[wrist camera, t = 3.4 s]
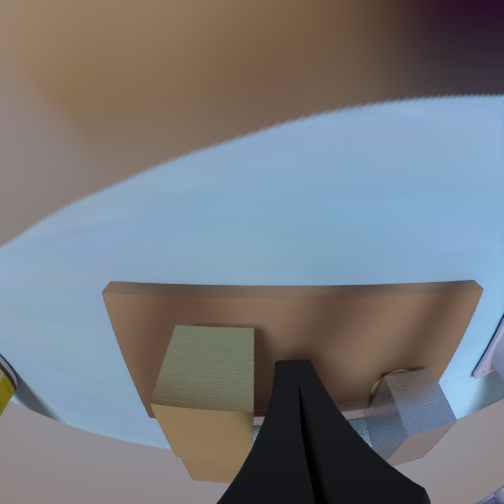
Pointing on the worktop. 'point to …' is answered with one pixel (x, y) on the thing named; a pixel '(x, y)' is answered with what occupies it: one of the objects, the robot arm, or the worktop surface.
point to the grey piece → (399, 415)
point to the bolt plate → (300, 328)
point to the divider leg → (208, 399)
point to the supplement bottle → (6, 384)
